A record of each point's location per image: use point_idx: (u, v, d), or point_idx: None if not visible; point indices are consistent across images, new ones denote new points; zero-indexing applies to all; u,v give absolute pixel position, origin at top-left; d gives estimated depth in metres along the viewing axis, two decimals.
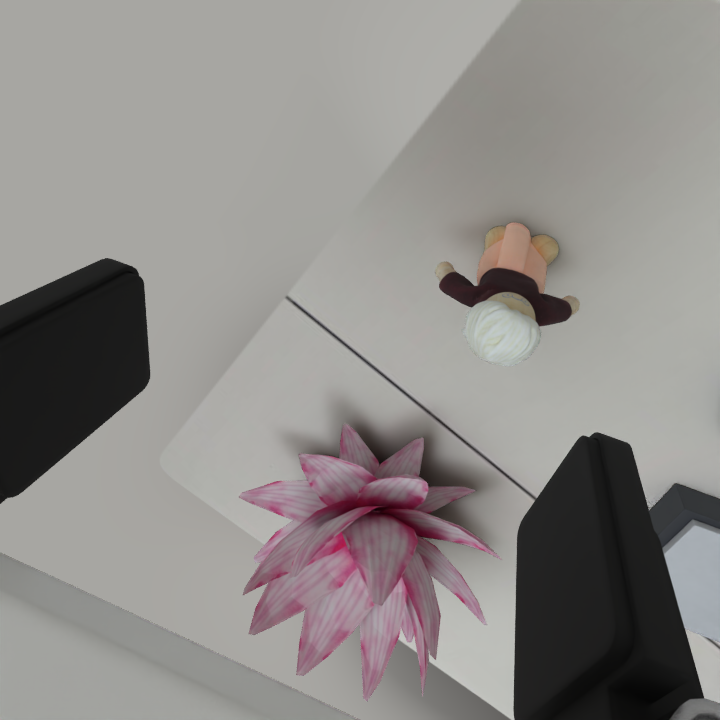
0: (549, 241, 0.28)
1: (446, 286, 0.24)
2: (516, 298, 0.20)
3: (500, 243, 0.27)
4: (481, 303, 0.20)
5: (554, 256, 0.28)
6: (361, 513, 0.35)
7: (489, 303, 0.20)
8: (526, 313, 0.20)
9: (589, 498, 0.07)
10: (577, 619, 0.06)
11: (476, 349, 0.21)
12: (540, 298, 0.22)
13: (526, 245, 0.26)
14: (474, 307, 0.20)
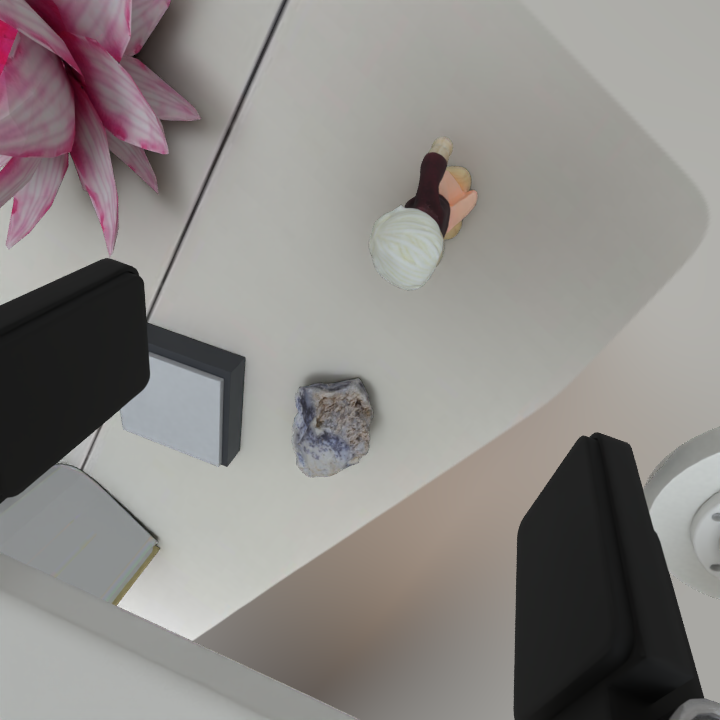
0: (456, 231, 0.29)
1: (434, 163, 0.21)
2: (441, 257, 0.20)
3: (459, 190, 0.27)
4: (437, 227, 0.19)
5: None
6: (66, 58, 0.23)
7: (441, 239, 0.19)
8: None
9: (589, 498, 0.07)
10: (577, 619, 0.06)
11: (388, 231, 0.19)
12: None
13: None
14: (433, 221, 0.19)
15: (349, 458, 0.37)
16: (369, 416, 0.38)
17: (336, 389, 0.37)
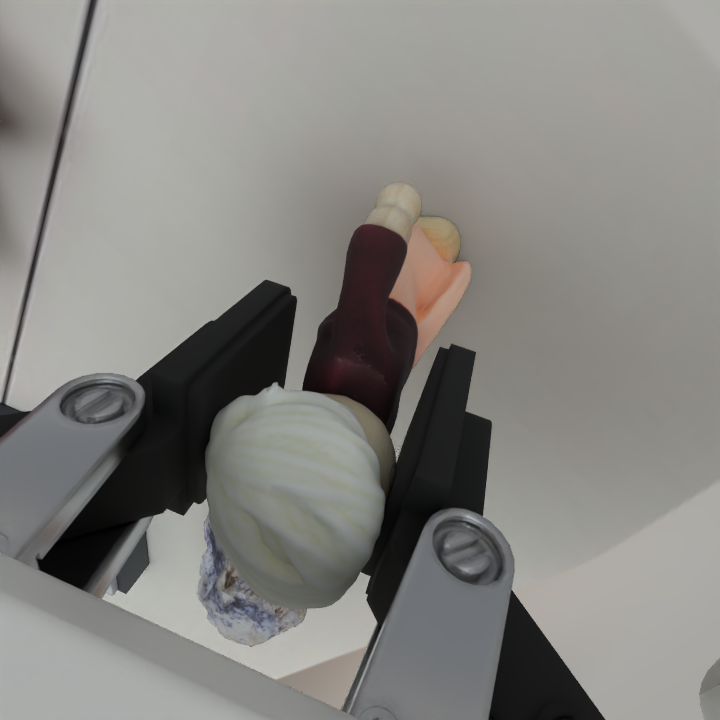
0: None
1: (374, 253, 0.09)
2: None
3: (438, 267, 0.14)
4: (370, 458, 0.07)
5: None
6: None
7: (379, 498, 0.07)
8: None
9: (426, 388, 0.08)
10: (397, 474, 0.08)
11: (231, 470, 0.07)
12: None
13: None
14: (356, 446, 0.07)
15: (274, 631, 0.25)
16: None
17: None
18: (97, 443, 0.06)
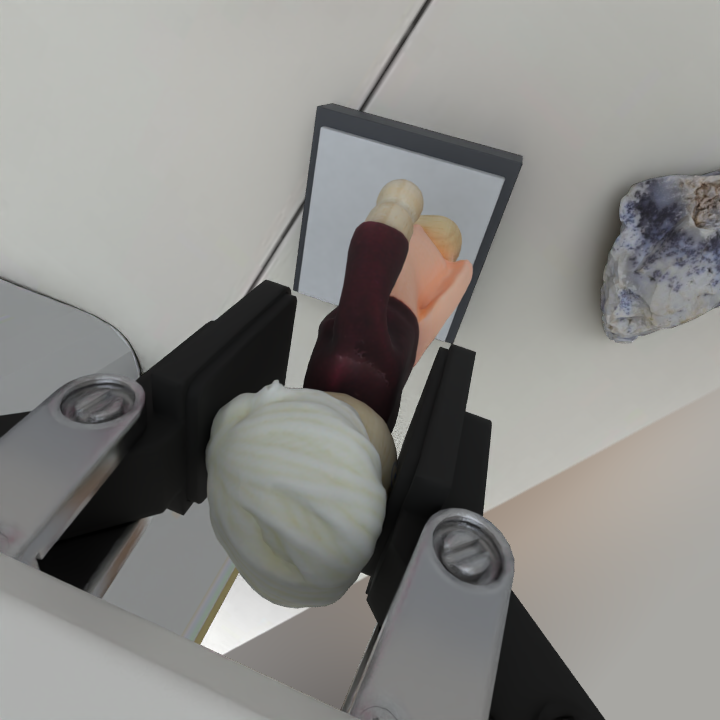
0: None
1: (375, 250, 0.09)
2: None
3: (440, 265, 0.14)
4: (372, 456, 0.07)
5: None
6: None
7: (380, 496, 0.07)
8: None
9: (426, 388, 0.08)
10: (397, 474, 0.08)
11: (232, 468, 0.07)
12: None
13: None
14: (358, 443, 0.07)
15: None
16: None
17: (715, 175, 0.23)
18: (97, 443, 0.06)
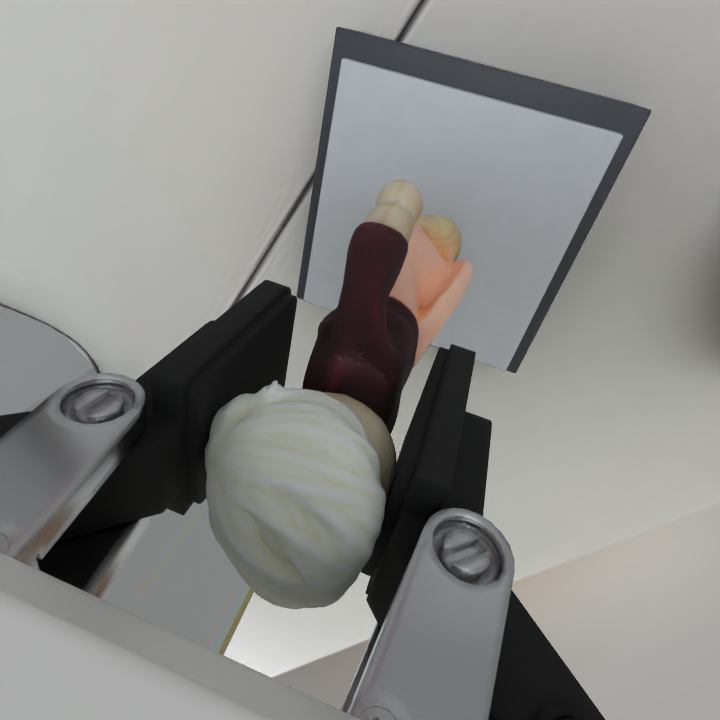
0: None
1: (374, 251, 0.09)
2: None
3: (439, 266, 0.14)
4: (371, 457, 0.07)
5: None
6: None
7: (379, 497, 0.07)
8: None
9: (426, 388, 0.08)
10: (397, 474, 0.08)
11: (231, 468, 0.07)
12: None
13: None
14: (356, 444, 0.07)
15: None
16: None
17: None
18: (97, 443, 0.06)
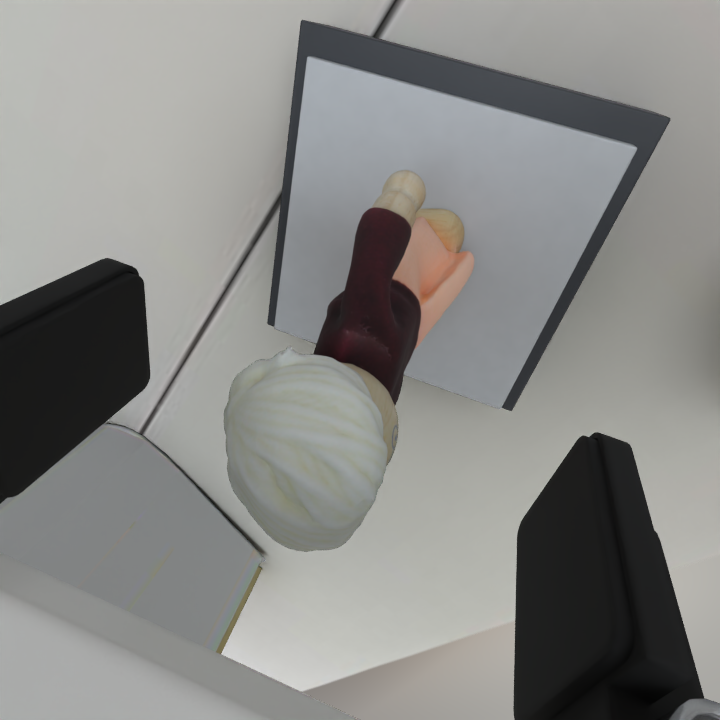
0: None
1: (380, 233, 0.09)
2: (390, 458, 0.09)
3: (442, 255, 0.15)
4: (374, 414, 0.08)
5: None
6: None
7: (381, 448, 0.07)
8: None
9: (589, 498, 0.07)
10: (577, 619, 0.06)
11: (249, 422, 0.08)
12: None
13: None
14: (362, 401, 0.07)
15: None
16: None
17: None
18: None
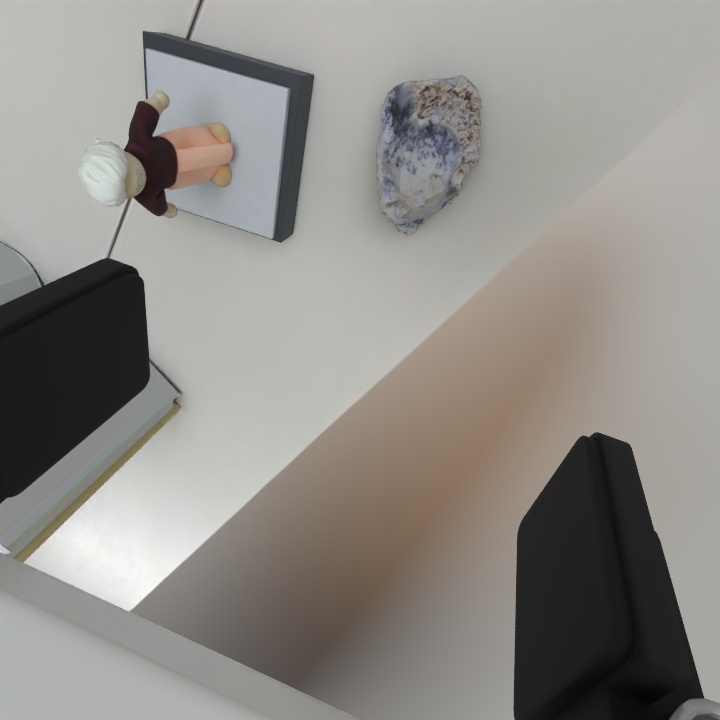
0: (227, 179, 0.35)
1: (140, 109, 0.27)
2: (138, 181, 0.26)
3: (210, 141, 0.32)
4: (121, 155, 0.25)
5: (217, 185, 0.36)
6: None
7: (122, 163, 0.25)
8: (128, 192, 0.26)
9: (589, 498, 0.07)
10: (577, 619, 0.06)
11: (83, 158, 0.25)
12: (154, 194, 0.28)
13: (210, 165, 0.32)
14: (116, 150, 0.25)
15: (456, 165, 0.29)
16: None
17: None
18: None
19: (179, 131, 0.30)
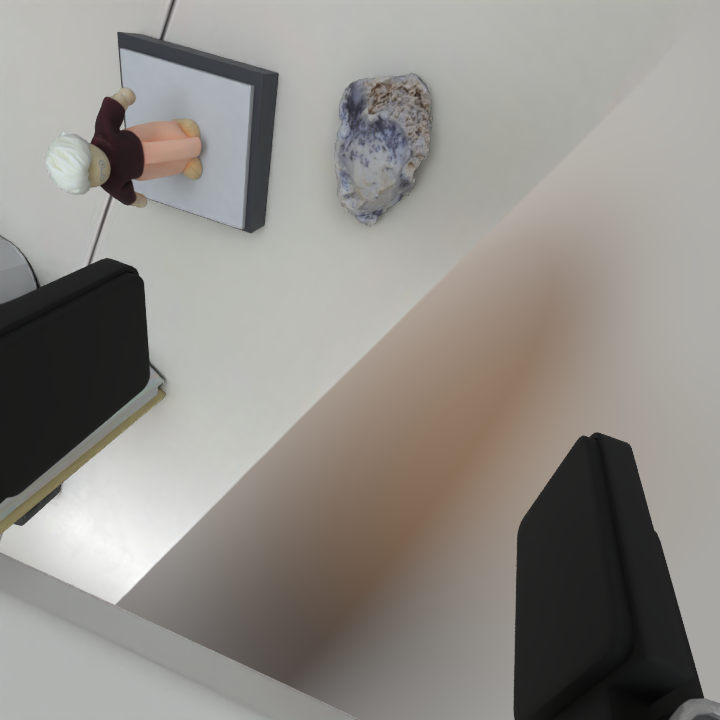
0: (197, 172, 0.37)
1: (105, 105, 0.29)
2: (101, 171, 0.28)
3: (178, 135, 0.34)
4: (84, 146, 0.27)
5: (188, 177, 0.38)
6: None
7: (84, 154, 0.27)
8: (92, 181, 0.28)
9: (589, 498, 0.07)
10: (577, 619, 0.06)
11: (49, 148, 0.27)
12: (121, 184, 0.30)
13: (178, 158, 0.34)
14: (79, 141, 0.27)
15: (406, 158, 0.31)
16: None
17: (391, 78, 0.31)
18: None
19: (147, 125, 0.32)
